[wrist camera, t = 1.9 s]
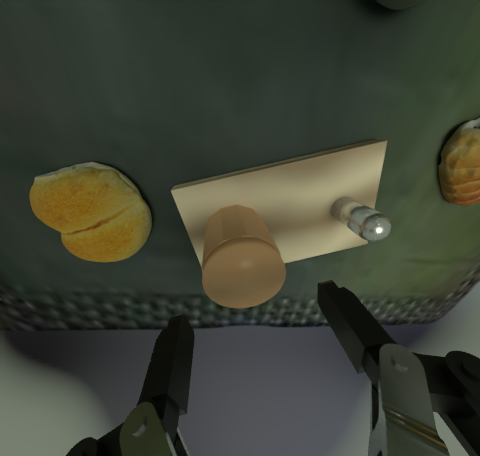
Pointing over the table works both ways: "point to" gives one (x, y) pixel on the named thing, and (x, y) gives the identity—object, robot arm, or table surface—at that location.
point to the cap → (240, 259)
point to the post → (361, 219)
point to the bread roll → (93, 211)
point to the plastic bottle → (399, 3)
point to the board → (290, 198)
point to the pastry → (461, 165)
